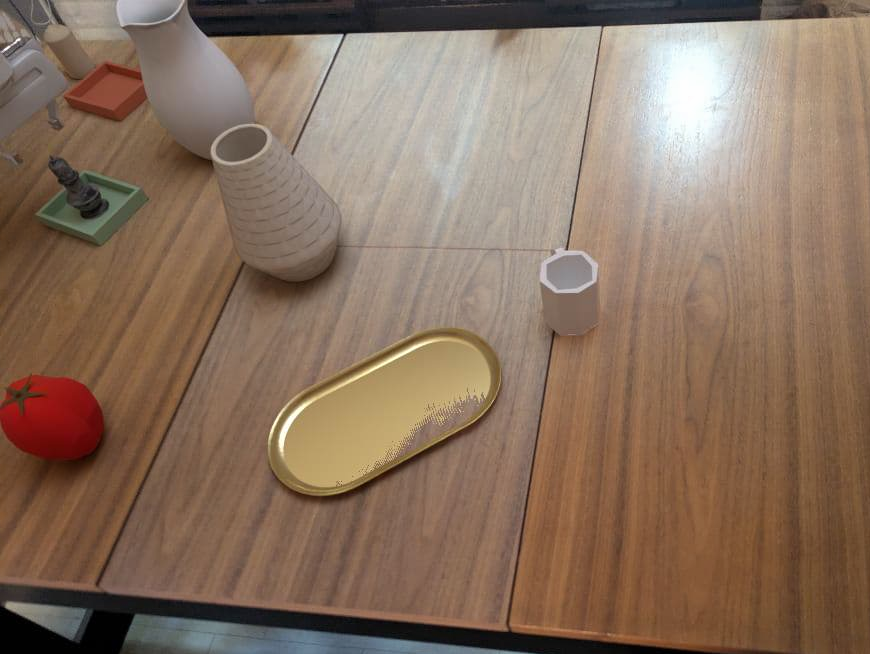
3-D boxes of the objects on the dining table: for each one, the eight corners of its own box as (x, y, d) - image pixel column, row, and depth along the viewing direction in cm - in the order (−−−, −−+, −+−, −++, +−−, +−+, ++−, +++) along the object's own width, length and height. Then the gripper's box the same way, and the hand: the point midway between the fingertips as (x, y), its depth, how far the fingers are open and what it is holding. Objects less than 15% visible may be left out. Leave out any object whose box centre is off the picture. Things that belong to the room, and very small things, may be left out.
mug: (608, 328, 105) (607, 284, 97) (552, 343, 105) (547, 301, 96) (583, 270, 111) (580, 225, 103) (531, 285, 111) (524, 240, 102)
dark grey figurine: (77, 204, 130) (31, 151, 120) (109, 193, 131) (66, 139, 121) (79, 224, 127) (33, 172, 117) (112, 213, 128) (68, 160, 118)
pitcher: (281, 144, 135) (210, -3, 111) (199, 184, 131) (106, 41, 107) (236, 86, 146) (162, -59, 122) (159, 121, 142) (68, -21, 118)
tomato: (67, 492, 99) (-3, 448, 88) (29, 442, 104) (-42, 395, 93) (138, 436, 103) (80, 387, 92) (98, 391, 108) (38, 339, 97)
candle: (75, 82, 152) (43, 38, 143) (66, 72, 154) (34, 28, 146) (99, 70, 153) (69, 26, 145) (90, 60, 156) (59, 16, 147)
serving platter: (526, 399, 100) (525, 393, 99) (298, 525, 93) (294, 520, 92) (466, 313, 109) (464, 307, 108) (254, 422, 102) (249, 417, 101)
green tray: (44, 225, 129) (34, 214, 127) (93, 179, 134) (84, 169, 132) (101, 246, 125) (91, 235, 122) (149, 198, 130) (140, 187, 128)
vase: (232, 285, 117) (154, 174, 97) (285, 211, 125) (223, 96, 105) (322, 307, 112) (260, 197, 93) (372, 230, 120) (324, 113, 101)
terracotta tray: (70, 106, 148) (62, 95, 145) (112, 71, 153) (105, 60, 151) (120, 121, 143) (113, 110, 141) (162, 84, 149) (155, 73, 146)
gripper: (14, 25, 110) (71, 103, 122) (-94, 104, 102) (-22, 180, 113) (41, 33, 109) (97, 111, 120) (-66, 114, 100) (5, 190, 112)
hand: (39, 145), depth 117 cm, fingers open, 8 cm apart
